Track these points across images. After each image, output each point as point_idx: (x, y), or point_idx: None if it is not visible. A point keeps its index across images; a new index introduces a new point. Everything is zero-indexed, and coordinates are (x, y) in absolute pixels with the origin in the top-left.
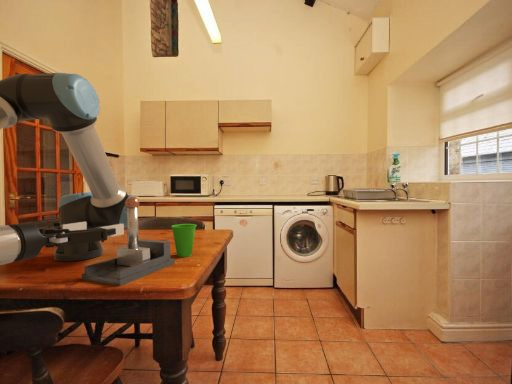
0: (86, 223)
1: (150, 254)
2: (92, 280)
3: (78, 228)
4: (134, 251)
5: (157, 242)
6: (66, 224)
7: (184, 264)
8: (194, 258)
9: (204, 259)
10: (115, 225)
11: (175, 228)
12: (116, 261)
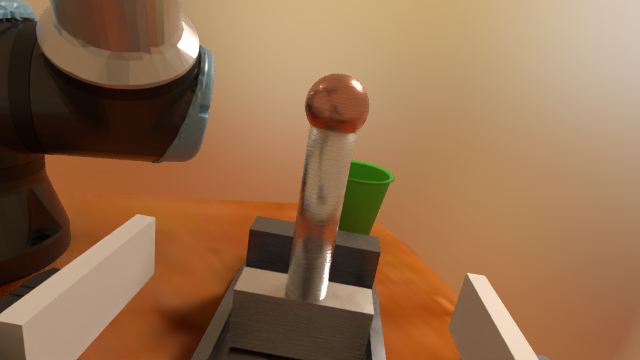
0: (154, 227)
1: None
2: None
3: (122, 281)
4: (330, 313)
5: (353, 247)
6: (49, 298)
7: (406, 303)
8: (387, 265)
9: (419, 270)
10: (512, 320)
11: (352, 182)
12: (222, 334)
